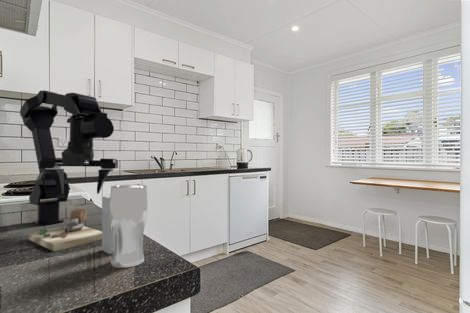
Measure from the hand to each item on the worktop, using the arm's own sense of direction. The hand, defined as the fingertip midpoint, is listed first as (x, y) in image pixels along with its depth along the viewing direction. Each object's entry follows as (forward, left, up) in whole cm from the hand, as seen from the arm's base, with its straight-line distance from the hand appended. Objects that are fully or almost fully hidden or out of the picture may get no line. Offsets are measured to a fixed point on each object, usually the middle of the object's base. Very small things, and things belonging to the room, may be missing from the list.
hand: (80, 193), depth 74 cm
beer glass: (+31, -5, -11) cm, 33 cm away
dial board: (+6, -6, -10) cm, 13 cm away
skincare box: (+23, -2, -11) cm, 26 cm away
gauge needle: (+4, -3, -8) cm, 10 cm away
